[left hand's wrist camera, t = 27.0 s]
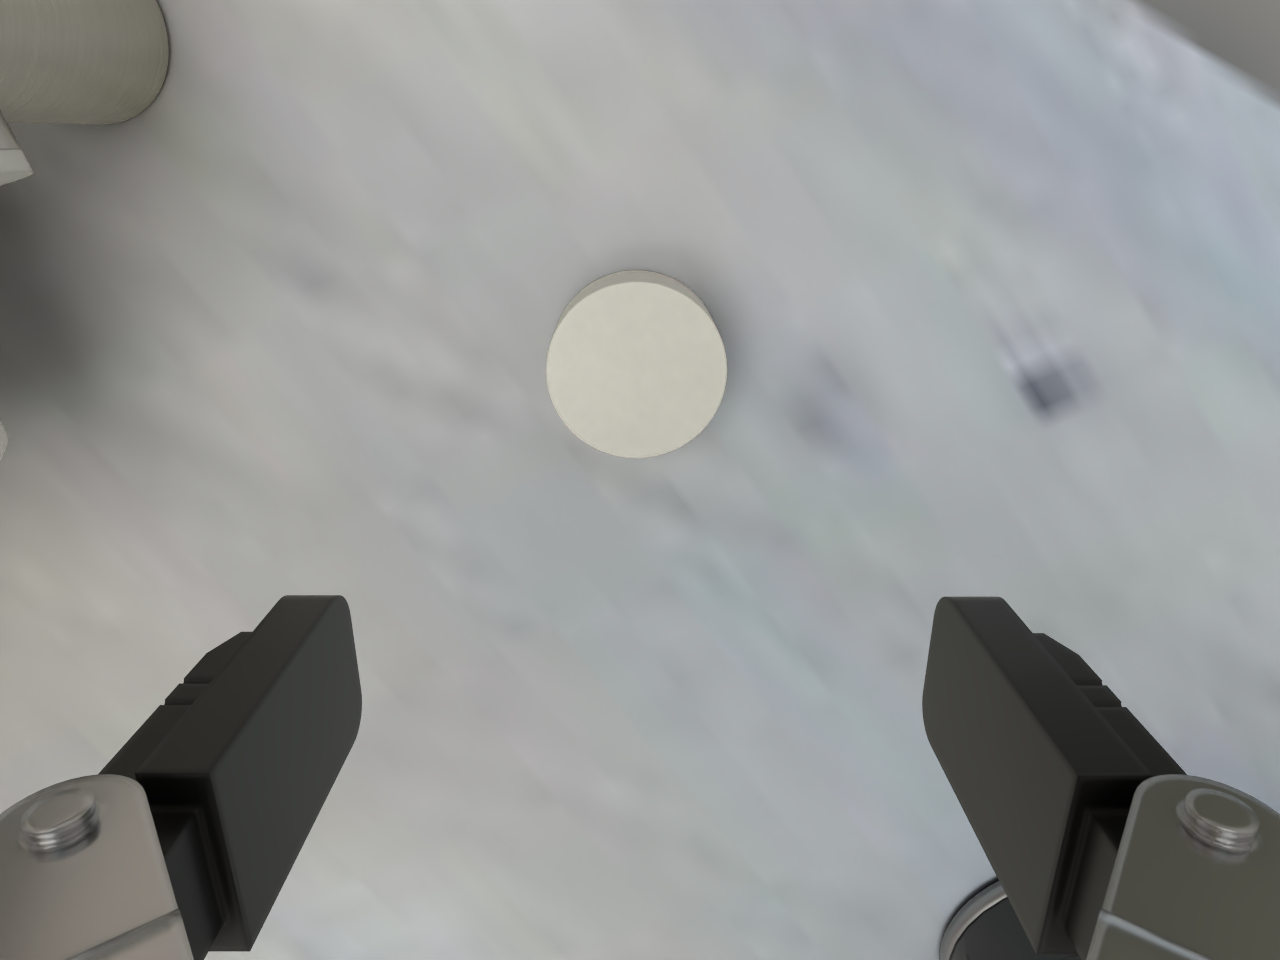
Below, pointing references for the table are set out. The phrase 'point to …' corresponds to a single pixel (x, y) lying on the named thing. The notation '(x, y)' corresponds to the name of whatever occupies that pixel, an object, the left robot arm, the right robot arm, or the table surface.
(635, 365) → the lid
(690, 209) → the table surface
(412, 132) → the table surface
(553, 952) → the table surface
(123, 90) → the cylinder
